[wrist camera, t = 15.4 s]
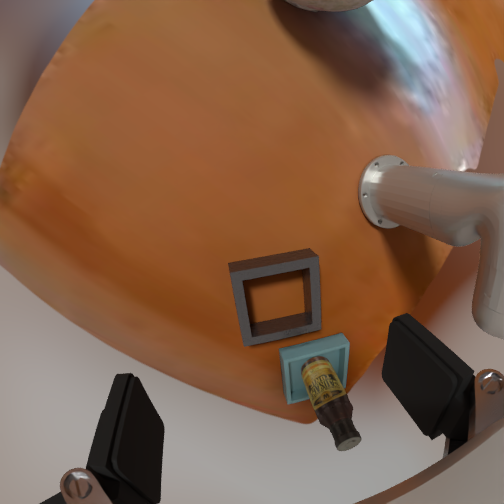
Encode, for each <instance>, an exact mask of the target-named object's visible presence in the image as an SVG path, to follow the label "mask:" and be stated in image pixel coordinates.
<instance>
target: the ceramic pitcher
mask: <svg viewBox="0 0 504 504" xmlns="http://www.w3.org/2000/svg"><path fill="white" fill-rule="evenodd" d="M285 1H286V2H288V3H290V4H292V5H294V6H295V7H298V8H301V9H305V10H308V11H312V12H318V11H320V10H321V11H333V12H340V11H348V10H353V9H357V8H360V7H362V6H364V5H366V4H368V3H369V2H371V1H373V0H285Z"/></svg>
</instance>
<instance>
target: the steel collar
mask: <svg viewBox="0 0 504 504" xmlns="http://www.w3.org/2000/svg"><path fill="white" fill-rule="evenodd" d="M228 266H229V271H230V277H231V282H232V288H233V293H234V298H235V304H236V309H237V314H238V319H239V325H240V330H241V335H242V339H243V344H244V346H250V345H255V344H260V343H265V342H269V341H274V340H279V339H283V338H287V337H292V336H296V335H300V334H304V333H308V332H313V331H316V330H320V329H321V300H320V275H319V256H318V255H317V254H315V253H314V252H313V251H312V250H311V249H310V248H308V249H303V250H297V251H292V252H287V253H281V254H276V255H270V256H265V257H259V258H254V259H248V260H243V261H237V262H232V263H228ZM300 269H302V275H303V289H304V304H305V312H304V313H300V314H295V315H291V316H286V317H282V318H277V319H272V320H268V321H263V322H258V323H253V324H250V323H249V318H248V312H247V306H246V300H245V294H244V288H243V282H242V281H243V280H248V279H253V278H259V277H264V276H269V275H274V274H280V273H285V272H290V271H295V270H300Z"/></svg>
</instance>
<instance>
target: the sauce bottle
mask: <svg viewBox="0 0 504 504" xmlns="http://www.w3.org/2000/svg"><path fill="white" fill-rule="evenodd" d="M301 376H302V379H303V382H304V385H305V387H306V390H307V393H308V395H309V398H310V401H311V403H312V406H313V408H314V410H315V412H316V415H317V417H318V419H319V422H320V424H322V425H323V426H325V427H327V428H329V429H330V432H331V433H332V435H333V438H334V440H335V445H336V448H337V450H339V451H346V450H349V449H351V448H353V447H355V446H356V445H358V444H359V443H360V441H361V436H360V434H359V432H358V431H357V430H356V429H355V427H354V425H353V422H352V420H351V418H352V410H353V406H352V404H351V403H350V401H349V399H348V395H347V393H346V392H345V390H344V388H343V386H342V384H341V382H340V380H339V378H338V376H337V374H336V372H335V371H334V369H333V367H332V365H331V363H330V362H329V360H328V359H327V358H325V357H322V356H317V357H312V358H310V359H309V360H307V361H306V362H305V363H304V364H303V365H302V367H301Z"/></svg>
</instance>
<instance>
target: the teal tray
mask: <svg viewBox="0 0 504 504" xmlns="http://www.w3.org/2000/svg"><path fill="white" fill-rule="evenodd" d="M349 344H350V343H349V341H348V340H347V339H346V337H345V336H344V335H343V333H339V334H336V335H332V336H328V337H325V338H321V339H317V340H313V341H309V342H305V343H301V344H297V345H293V346H289V347H285V348H280V349H279V354H280V363H281V372H282V381H283V391H284V395H285V398H286V401H287V404H292V403H296V402H300V401H304V400H307V399H310V398H309V395H308V393H307V390H306V387H305V385H304V382H303V379H302V376H301V367H302V365H303V364H304V363H305V362H306V361H307V360H309V359H310V358H312V357H317V356H322V357H325V358H327V359H328V360H329V362H330V363H331V365H332V367H333V369H334V371H335V372H336V374H337V376H338V378H339V380H340V382H341V384H342V386H343V388H346V379H347V369H348V357H349Z"/></svg>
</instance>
